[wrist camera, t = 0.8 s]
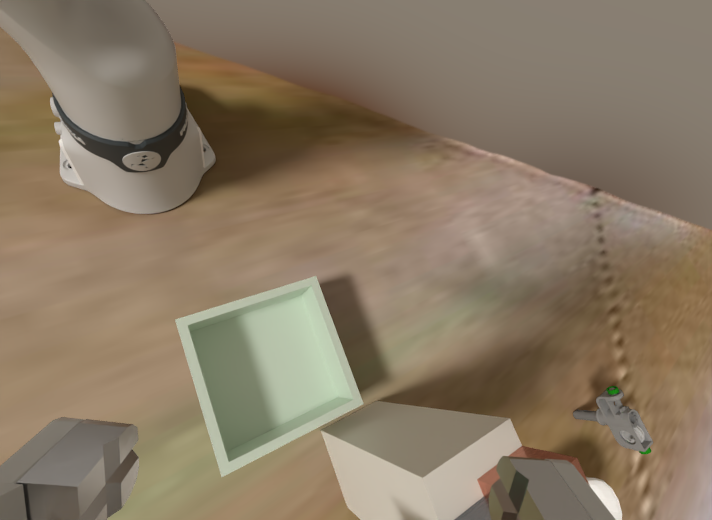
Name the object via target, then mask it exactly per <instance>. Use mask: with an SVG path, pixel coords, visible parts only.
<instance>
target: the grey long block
mask: <svg viewBox="0 0 712 520" xmlns="http://www.w3.org/2000/svg"><path fill="white" fill-rule="evenodd" d="M509 456H511V457H524V458H537V459H557V460H567V461H569V462H570V463H571V464H573V465H574V466H575V468H576V469H577V470H578V472H579V473H580V474H581V475H582V477H583V478H584V479H585V481H586V482H587V483H588V481H587V479H586V476H585V474H584V472H583V470H582V468H581V465H580V463H579V461H578V459H577V458H576V457H571V456H566V455H562V454H557V453H552V452H548V451H543V450H538V449H534V448H529V447H525V446H521V447H520V448H518V449H517V450H516V451H514V452H513V453H512V454H510V455H509ZM497 465H498V464H497ZM497 465H496V466H494V467H493V468H492V469H490V470H489V471H488V472H486V473H485V474H484V475H482V476H481V477H480V478H478V479H477V481H478V483H479V486H480V488H481V491H482V493H483V495H484V497H482V498H481V499H480V500H479V501H477V502H476V503H475V504H474V505H472V506H471V507H470V508H468V509H467V510H466V511H465V512H463V513H462V514H461V515H460V516H458V517H457V518H456V519H454V520H491V517H490V512H489V494H490V490H491V485H493V484H494V483H495V482H496V481H497V480H498V479H500V477H499V475H498V473H497V471H496V468H497ZM588 484H589V483H588ZM589 486H590V485H589Z"/></svg>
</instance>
